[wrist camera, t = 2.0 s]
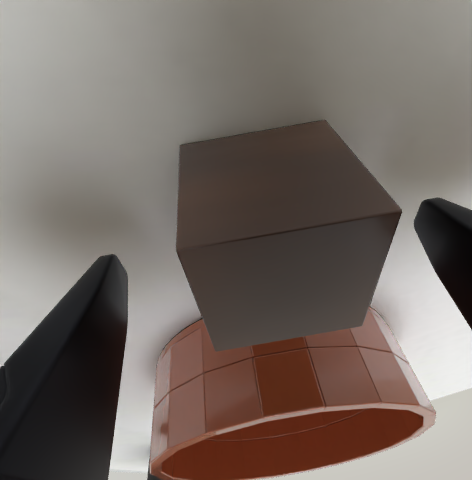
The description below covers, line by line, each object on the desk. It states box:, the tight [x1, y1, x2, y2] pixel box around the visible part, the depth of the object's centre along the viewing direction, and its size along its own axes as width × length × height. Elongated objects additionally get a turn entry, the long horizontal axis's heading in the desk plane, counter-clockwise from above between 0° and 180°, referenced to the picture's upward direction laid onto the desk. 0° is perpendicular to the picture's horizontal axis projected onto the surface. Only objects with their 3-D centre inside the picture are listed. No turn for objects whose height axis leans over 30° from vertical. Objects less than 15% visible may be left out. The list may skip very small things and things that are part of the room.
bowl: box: [150, 307, 436, 480], centre depth 18 cm, size 15×15×5 cm
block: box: [176, 120, 402, 352], centre depth 9 cm, size 4×4×4 cm
